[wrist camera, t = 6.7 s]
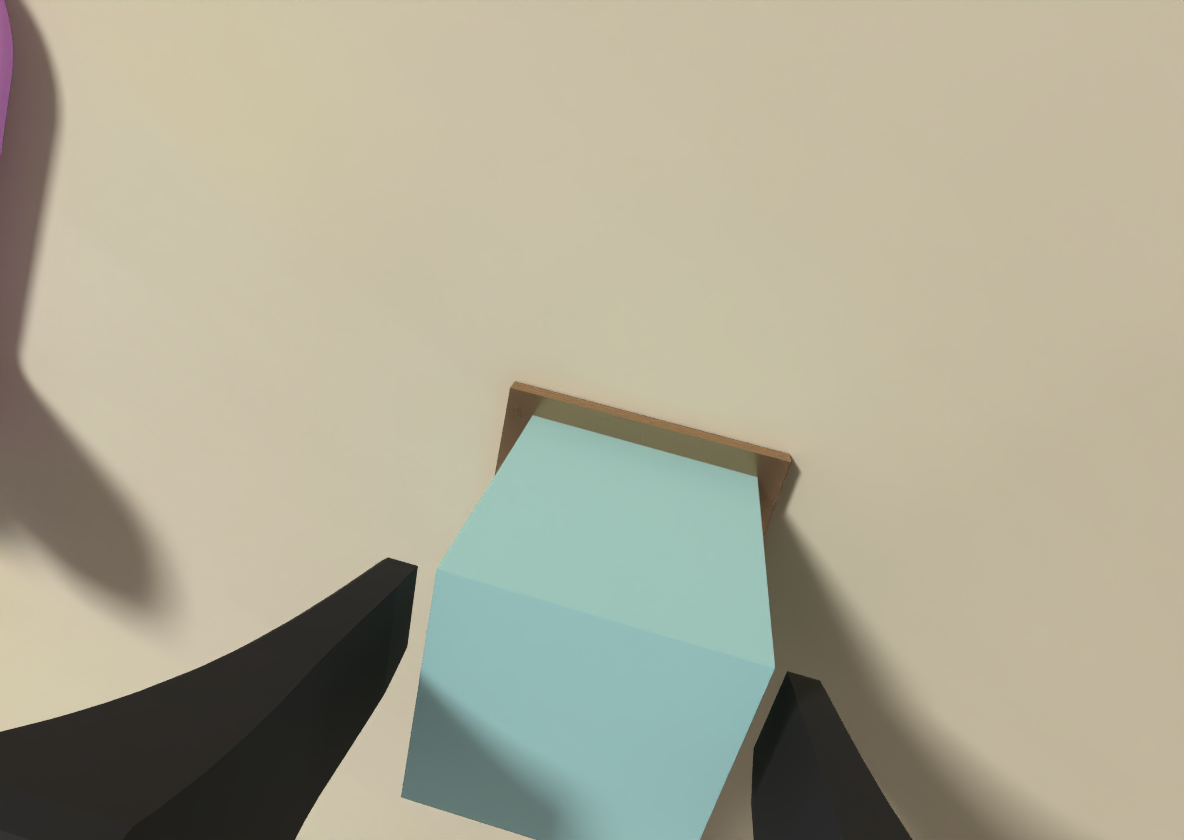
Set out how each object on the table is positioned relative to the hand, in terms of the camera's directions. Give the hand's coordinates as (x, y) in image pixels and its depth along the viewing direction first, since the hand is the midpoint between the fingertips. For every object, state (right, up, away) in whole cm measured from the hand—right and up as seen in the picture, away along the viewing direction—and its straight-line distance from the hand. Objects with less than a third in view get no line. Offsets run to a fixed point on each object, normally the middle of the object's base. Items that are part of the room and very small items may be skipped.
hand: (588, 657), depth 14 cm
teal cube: (+1, +2, +4) cm, 4 cm away
